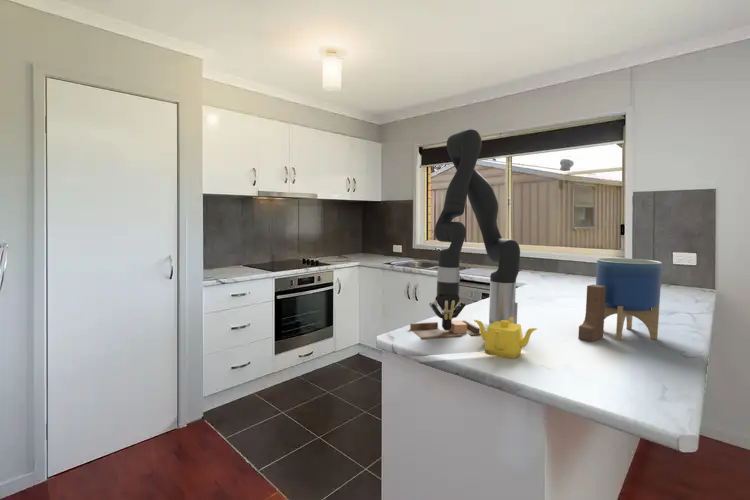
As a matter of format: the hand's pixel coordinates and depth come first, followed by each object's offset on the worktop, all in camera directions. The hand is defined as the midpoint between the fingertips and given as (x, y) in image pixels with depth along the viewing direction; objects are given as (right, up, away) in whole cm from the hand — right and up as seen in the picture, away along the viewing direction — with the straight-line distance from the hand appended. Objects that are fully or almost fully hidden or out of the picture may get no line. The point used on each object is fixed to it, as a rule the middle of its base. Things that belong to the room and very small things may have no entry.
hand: (446, 329), depth 134 cm
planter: (+65, -3, +5) cm, 65 cm away
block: (+4, -1, +1) cm, 4 cm away
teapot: (+15, -4, -15) cm, 21 cm away
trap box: (-1, -2, 0) cm, 3 cm away
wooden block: (+49, -3, -1) cm, 50 cm away
